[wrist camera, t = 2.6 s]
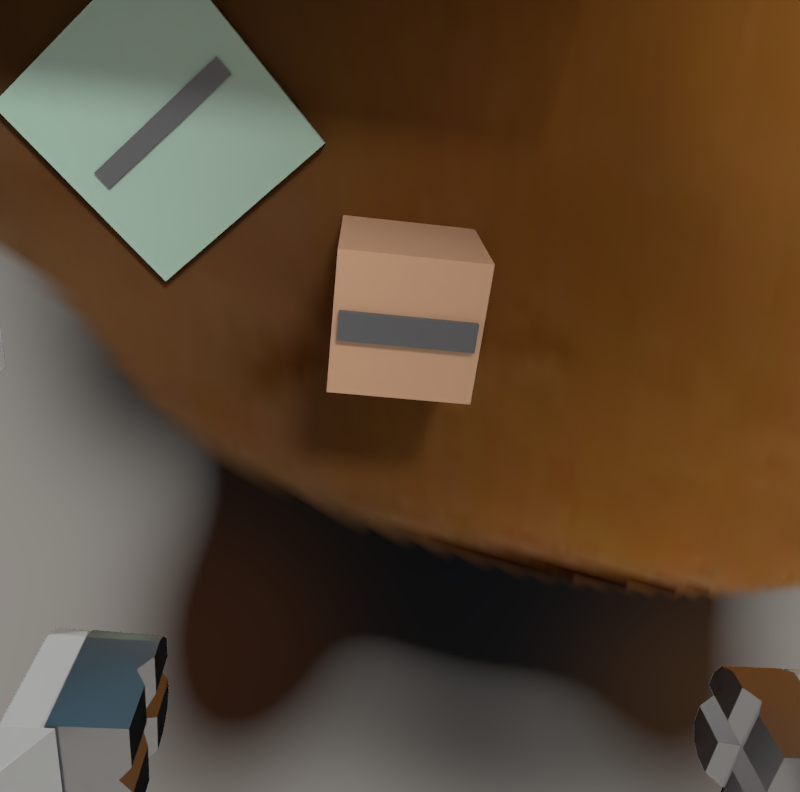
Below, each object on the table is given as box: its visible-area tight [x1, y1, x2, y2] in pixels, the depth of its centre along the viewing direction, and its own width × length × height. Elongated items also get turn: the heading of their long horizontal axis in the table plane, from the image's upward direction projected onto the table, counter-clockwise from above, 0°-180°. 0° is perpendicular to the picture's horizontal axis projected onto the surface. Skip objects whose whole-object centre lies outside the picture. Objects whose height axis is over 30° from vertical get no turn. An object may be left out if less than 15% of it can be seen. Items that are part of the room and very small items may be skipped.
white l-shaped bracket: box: [0, 0, 325, 372], centre depth 23 cm, size 22×18×6 cm
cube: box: [327, 215, 495, 405], centre depth 26 cm, size 5×5×5 cm
